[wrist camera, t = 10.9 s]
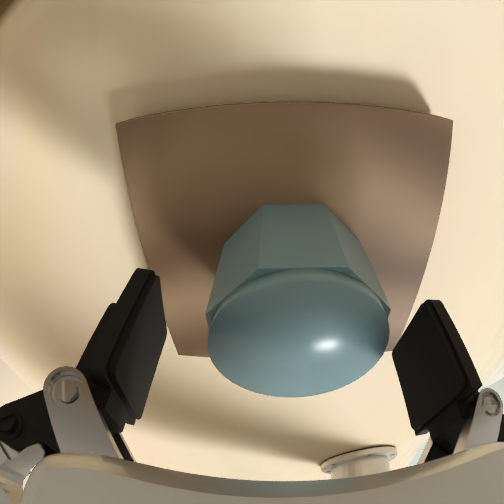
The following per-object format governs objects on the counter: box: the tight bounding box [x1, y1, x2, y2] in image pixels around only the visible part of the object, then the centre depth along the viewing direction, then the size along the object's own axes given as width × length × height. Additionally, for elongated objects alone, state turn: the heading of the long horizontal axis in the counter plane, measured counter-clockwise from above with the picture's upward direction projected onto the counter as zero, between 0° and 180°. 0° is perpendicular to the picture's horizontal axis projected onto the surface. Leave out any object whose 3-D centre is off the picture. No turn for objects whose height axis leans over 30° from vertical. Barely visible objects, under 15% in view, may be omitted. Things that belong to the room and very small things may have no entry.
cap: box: [205, 204, 391, 397], centre depth 11 cm, size 6×6×5 cm
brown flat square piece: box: [116, 102, 453, 357], centre depth 14 cm, size 14×14×2 cm
